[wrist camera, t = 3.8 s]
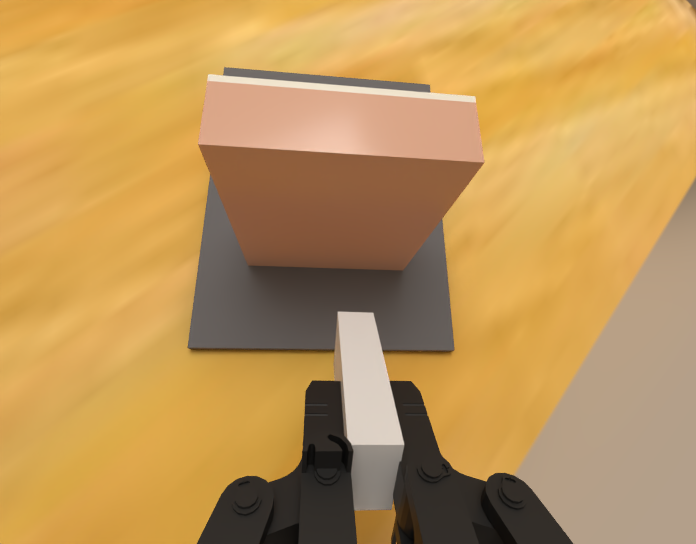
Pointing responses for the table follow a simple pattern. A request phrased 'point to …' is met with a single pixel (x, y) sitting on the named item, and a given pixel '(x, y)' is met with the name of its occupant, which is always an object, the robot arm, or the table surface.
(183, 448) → the table surface
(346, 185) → the tile
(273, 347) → the mat
